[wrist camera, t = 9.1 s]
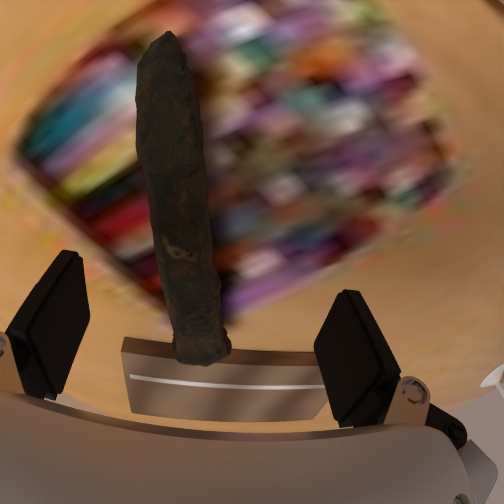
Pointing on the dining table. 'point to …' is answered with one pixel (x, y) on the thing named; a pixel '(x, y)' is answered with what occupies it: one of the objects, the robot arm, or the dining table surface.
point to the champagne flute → (495, 379)
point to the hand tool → (179, 201)
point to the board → (223, 385)
